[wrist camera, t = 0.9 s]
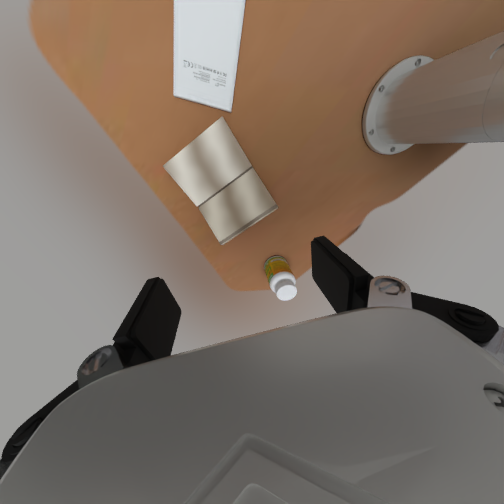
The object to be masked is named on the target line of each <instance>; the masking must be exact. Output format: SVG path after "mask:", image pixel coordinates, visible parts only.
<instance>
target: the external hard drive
mask: <svg viewBox="0 0 504 504" xmlns="http://www.w3.org/2000/svg"><path fill="white" fill-rule="evenodd" d="M245 1H246V0H174V96H175V97H178V98H181V99H185V100H188V101H192V102H195V103H200V104H204V105H207V106H209V107H213V108H216V109H220V110H223V111H227V112H230V113H231V110H232V102H233V95H234V87H235V79H236V72H237V64H238V56H239V48H240V40H241V32H242V25H243V17H244V9H245Z"/></svg>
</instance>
